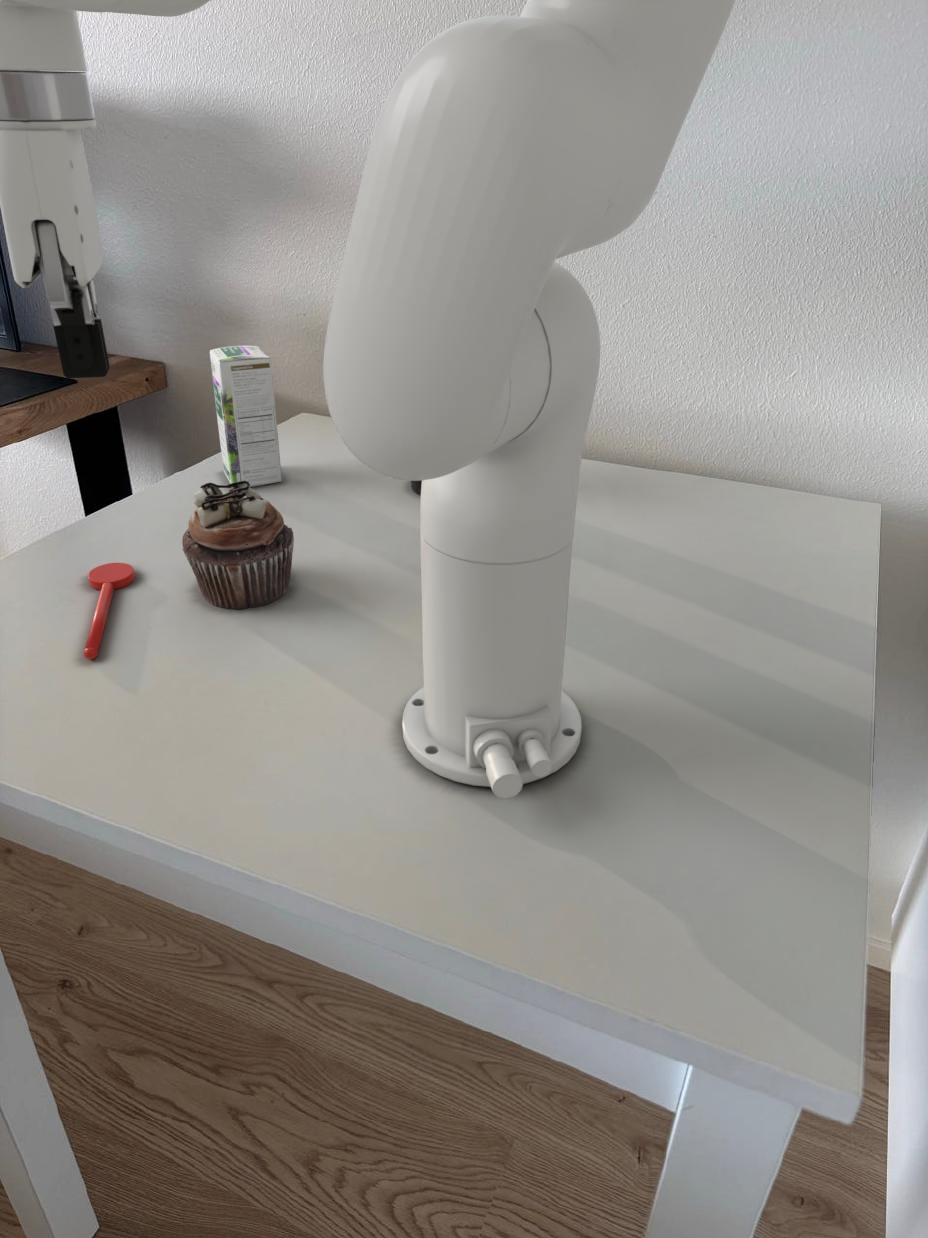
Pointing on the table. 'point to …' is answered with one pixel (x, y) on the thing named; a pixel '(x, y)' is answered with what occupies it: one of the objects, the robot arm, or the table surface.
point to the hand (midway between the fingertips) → (87, 374)
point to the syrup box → (246, 414)
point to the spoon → (105, 598)
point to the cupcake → (238, 547)
